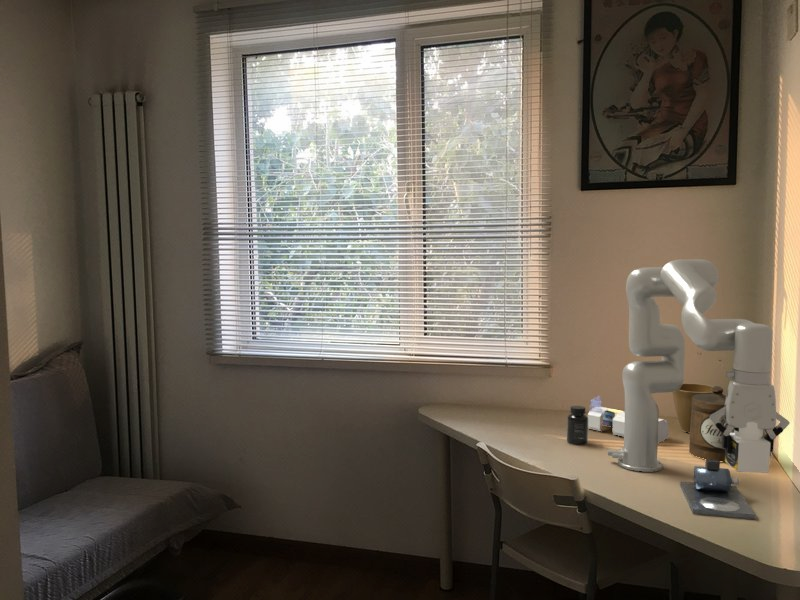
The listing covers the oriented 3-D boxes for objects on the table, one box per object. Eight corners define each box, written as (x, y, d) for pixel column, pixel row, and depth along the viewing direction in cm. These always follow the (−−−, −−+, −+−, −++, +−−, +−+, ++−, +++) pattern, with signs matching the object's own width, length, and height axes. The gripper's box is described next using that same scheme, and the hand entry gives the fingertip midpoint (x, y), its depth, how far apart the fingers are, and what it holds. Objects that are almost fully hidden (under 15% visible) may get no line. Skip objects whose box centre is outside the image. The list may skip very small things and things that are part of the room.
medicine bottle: (724, 461, 159) (726, 412, 157) (755, 462, 158) (758, 412, 157) (736, 472, 151) (739, 420, 150) (769, 473, 151) (772, 421, 150)
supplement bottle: (591, 442, 224) (592, 407, 223) (581, 446, 220) (581, 410, 219) (573, 438, 229) (574, 403, 228) (562, 442, 224) (563, 407, 224)
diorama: (587, 430, 240) (587, 394, 239) (602, 425, 247) (603, 390, 246) (652, 446, 221) (654, 407, 220) (667, 440, 228) (669, 402, 227)
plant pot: (680, 423, 248) (682, 381, 247) (722, 431, 238) (724, 387, 237) (663, 431, 238) (664, 387, 237) (706, 440, 227) (708, 393, 226)
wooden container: (707, 463, 203) (710, 392, 201) (679, 449, 217) (682, 382, 216) (751, 461, 205) (755, 390, 203) (721, 447, 220) (724, 381, 218)
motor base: (692, 513, 165) (694, 477, 164) (679, 485, 184) (681, 452, 183) (755, 519, 161) (757, 482, 161) (735, 490, 181) (737, 457, 180)
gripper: (713, 378, 151) (709, 454, 153) (799, 383, 147) (794, 461, 149) (706, 372, 158) (703, 445, 160) (788, 376, 154) (783, 451, 156)
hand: (747, 452), depth 154 cm, fingers closed on medicine bottle, 7 cm apart
